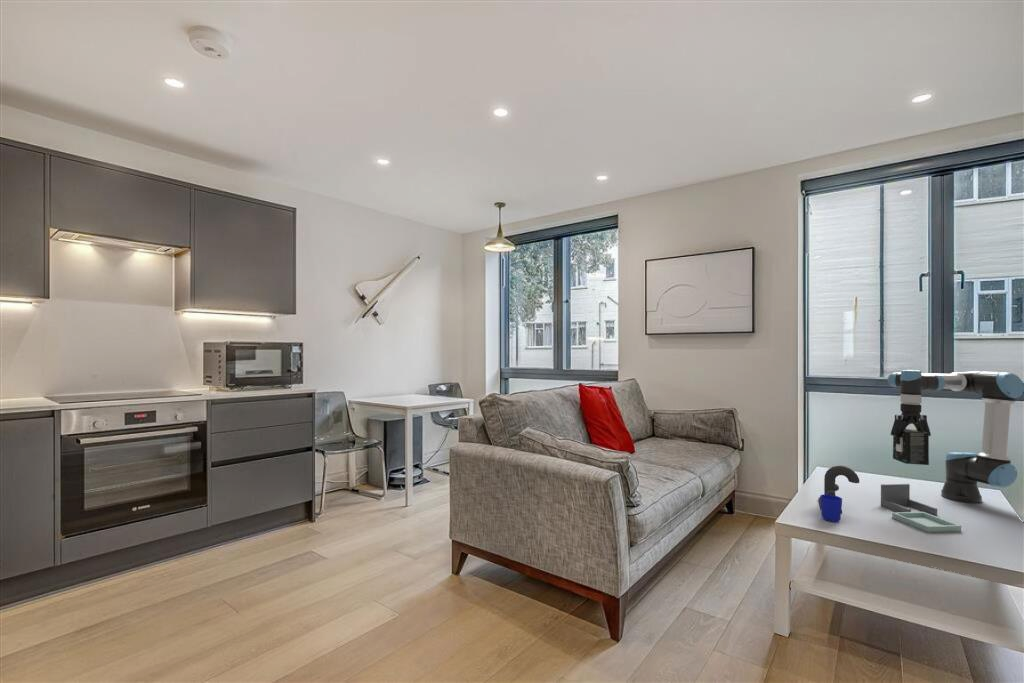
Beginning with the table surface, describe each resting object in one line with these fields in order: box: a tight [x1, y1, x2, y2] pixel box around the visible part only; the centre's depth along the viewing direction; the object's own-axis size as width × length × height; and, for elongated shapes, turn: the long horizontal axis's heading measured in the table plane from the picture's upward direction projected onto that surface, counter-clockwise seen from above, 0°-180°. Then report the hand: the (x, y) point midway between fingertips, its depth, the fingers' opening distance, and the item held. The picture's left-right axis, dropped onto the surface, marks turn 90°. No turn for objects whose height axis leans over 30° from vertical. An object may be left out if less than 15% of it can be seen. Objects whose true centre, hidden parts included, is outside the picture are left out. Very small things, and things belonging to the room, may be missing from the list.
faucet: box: [818, 465, 860, 514], centre depth 230 cm, size 18×16×20 cm
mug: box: [819, 494, 843, 523], centre depth 216 cm, size 8×12×10 cm
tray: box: [891, 511, 962, 534], centre depth 209 cm, size 15×17×2 cm
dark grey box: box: [892, 428, 930, 466], centre depth 225 cm, size 11×9×15 cm
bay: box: [880, 483, 938, 516], centre depth 227 cm, size 14×15×10 cm
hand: (910, 451), depth 225 cm, fingers closed on dark grey box, 10 cm apart
